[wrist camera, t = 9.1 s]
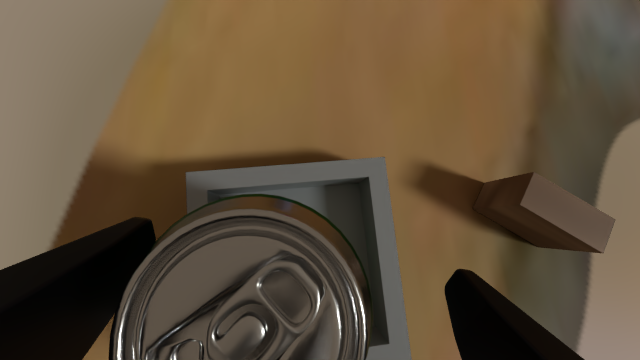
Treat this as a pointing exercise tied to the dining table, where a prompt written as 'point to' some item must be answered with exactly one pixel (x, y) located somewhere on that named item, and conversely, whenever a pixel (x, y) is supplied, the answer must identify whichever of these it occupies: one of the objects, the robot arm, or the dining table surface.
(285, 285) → the soda can
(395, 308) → the tray
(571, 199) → the brown rectangular block
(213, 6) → the dining table surface
